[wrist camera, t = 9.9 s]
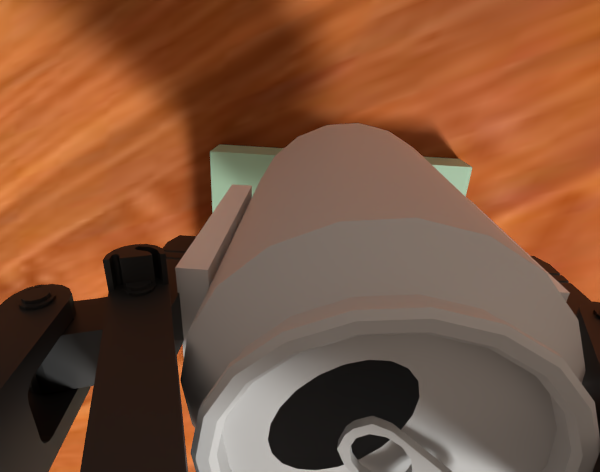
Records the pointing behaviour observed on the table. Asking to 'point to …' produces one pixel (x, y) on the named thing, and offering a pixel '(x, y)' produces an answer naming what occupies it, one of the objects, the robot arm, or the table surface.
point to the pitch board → (255, 160)
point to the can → (381, 328)
